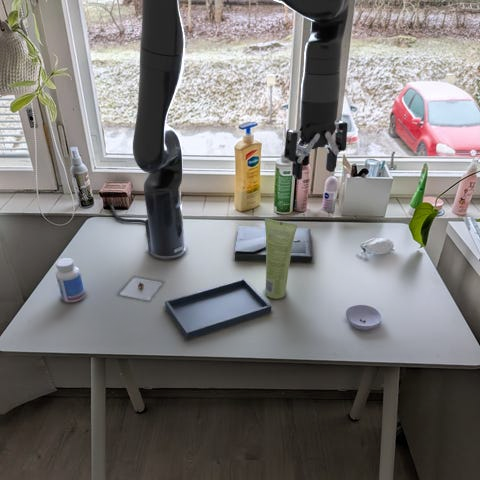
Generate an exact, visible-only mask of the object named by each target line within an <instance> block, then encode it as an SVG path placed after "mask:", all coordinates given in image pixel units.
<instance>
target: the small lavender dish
mask: <svg viewBox="0 0 480 480" xmlns="http://www.w3.org/2000/svg"><path fill="white" fill-rule="evenodd" d="M345 319H346V321H347V322H348V324H349V325H350V326H352V327H353V328H356V329H359V330H363V331H364V330H371V329H375V328H377V327H379V326H380V324H381V323H382V319H383V318H382V314H381V313H380V312H379V310H377V308H374V307H373V306H370V305H367V304H357V305H353V306H350V307H348V308H347V309H346V311H345Z"/></svg>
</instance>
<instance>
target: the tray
mask: <svg viewBox="0 0 480 480" xmlns="http://www.w3.org/2000/svg"><path fill="white" fill-rule="evenodd" d="M164 307H165V309H166V312H167V313H168V314H169V315H170V316H171V318H172V320H173V321H174V322H175V324H176V326H177V327H178V328H179V330H180V331H181V333H182V334H183V336H184V337H185V339H186V340H190V339H194V338H197V337H201V336H204V335H206V334H210V333H213V332H216V331H218V330H221V329H224V328H227V327H231V326H234V325H237V324H240V323H243V322H247V321H249V320H253V319H255V318H258V317H262V316H265V315H267V314H271V313H272V305H271V304H270V303H269V302H268V300H267V299H265V298H264V297H263V296H262V295H261V294H260V292H259V291H257V289H256V288H254V287H253V286H252V284H251V283H250V282H249V281H248V280H247V279H246V278H245V277H244V278H241V279H237V280H233V281H230V282H227V283H223V284H219V285H216V286H212V287H210V288H206V289H203V290H199V291H195V292H192V293H188V294H186V295H182V296H179V297H178V296H177V297H175V298H171V299H168V300H165V301H164Z"/></svg>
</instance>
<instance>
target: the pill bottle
mask: <svg viewBox="0 0 480 480" xmlns="http://www.w3.org/2000/svg"><path fill="white" fill-rule="evenodd" d="M55 266H56V269H57V270H56V271H55V278H56V281H57V285H58V289H59V292H60V296H61V298H62V300H63V301H64V302H66V303H76V302H79V301H81V300H82V299H84V297H85V295H86V294H85V289H84V284H83V279H82V275H81V272H80V268H78V267H77V266H76V264H75V261H74V259H73V258H70V257H63V258H60V259H58V260H56V262H55Z"/></svg>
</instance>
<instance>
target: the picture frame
mask: <svg viewBox="0 0 480 480" xmlns="http://www.w3.org/2000/svg"><path fill="white" fill-rule="evenodd" d="M237 229H238V230H237V235H236V242H235V246H234V261H243V262H244V261H247V262H266V228H265V226H250V225H249V226H248V225H247V226H245V225H238V228H237ZM311 233H312V232H311V228H306V227H305V228H300V227H297V229H296V232H295V236H294V241H293V246H292V252H291V257H290V263H295V264H313V246H312V234H311Z"/></svg>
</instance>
